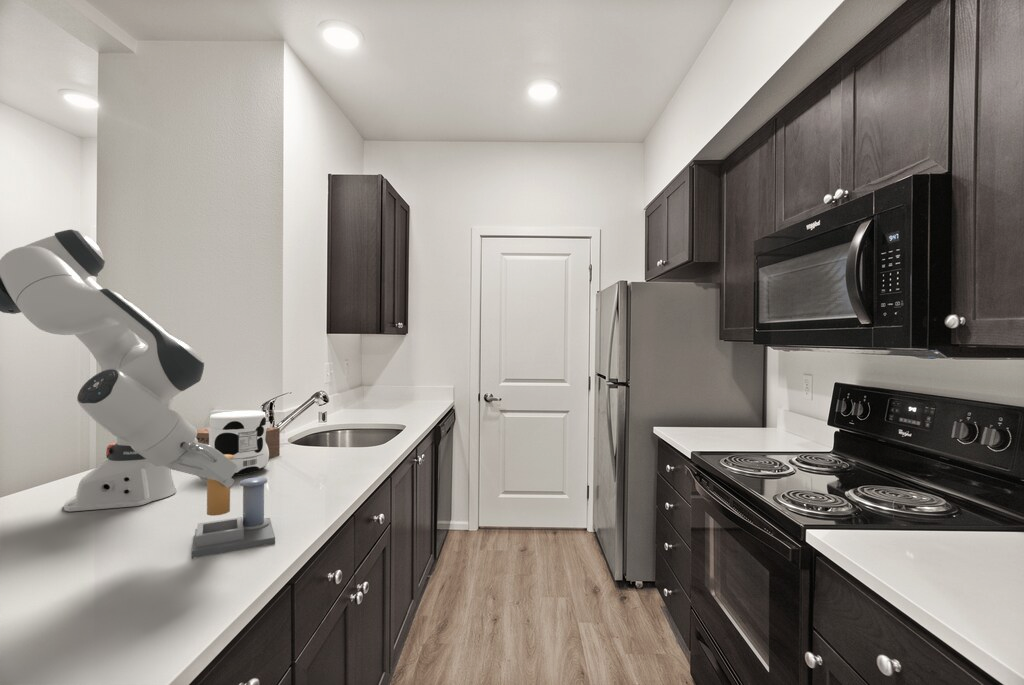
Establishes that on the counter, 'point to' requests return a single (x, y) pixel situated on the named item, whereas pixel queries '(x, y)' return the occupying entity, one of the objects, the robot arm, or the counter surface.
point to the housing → (237, 525)
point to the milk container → (241, 438)
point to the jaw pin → (218, 496)
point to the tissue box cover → (271, 439)
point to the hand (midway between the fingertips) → (221, 482)
